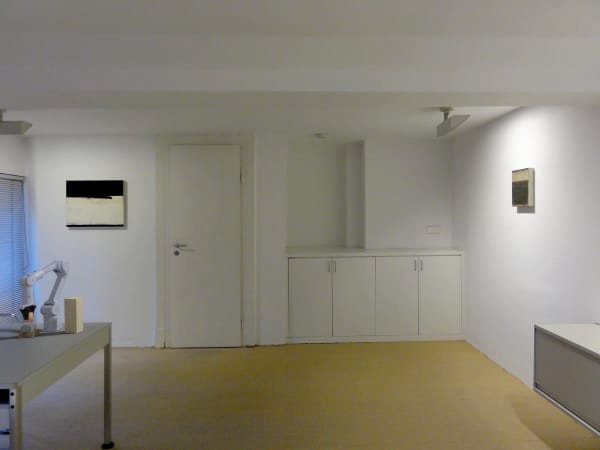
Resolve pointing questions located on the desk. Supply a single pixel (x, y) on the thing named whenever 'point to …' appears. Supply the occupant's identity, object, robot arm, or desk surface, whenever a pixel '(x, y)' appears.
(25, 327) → the slate block
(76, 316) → the tan wooden block
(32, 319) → the orange capsule
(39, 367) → the desk surface
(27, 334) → the brown square box
